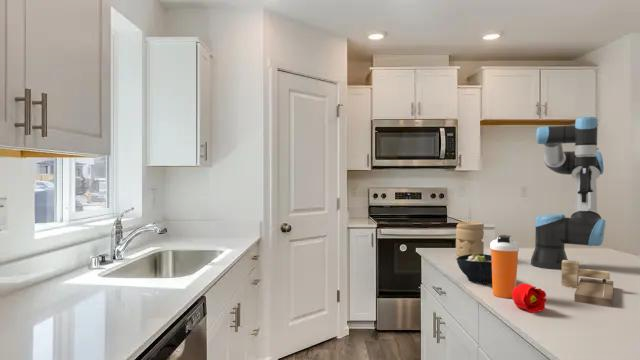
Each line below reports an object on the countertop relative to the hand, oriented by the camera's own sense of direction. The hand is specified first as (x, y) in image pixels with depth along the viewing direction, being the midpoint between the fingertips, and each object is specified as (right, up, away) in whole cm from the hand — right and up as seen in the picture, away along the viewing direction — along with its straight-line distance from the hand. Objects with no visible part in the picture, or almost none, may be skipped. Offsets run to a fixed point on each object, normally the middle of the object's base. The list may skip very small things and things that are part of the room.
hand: (585, 209), depth 169 cm
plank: (-12, -27, -24) cm, 39 cm away
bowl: (-45, -27, -6) cm, 53 cm away
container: (-34, -27, +34) cm, 55 cm away
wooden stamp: (-10, -27, -16) cm, 33 cm away
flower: (-44, -28, -41) cm, 66 cm away
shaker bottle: (-44, -27, -26) cm, 58 cm away
